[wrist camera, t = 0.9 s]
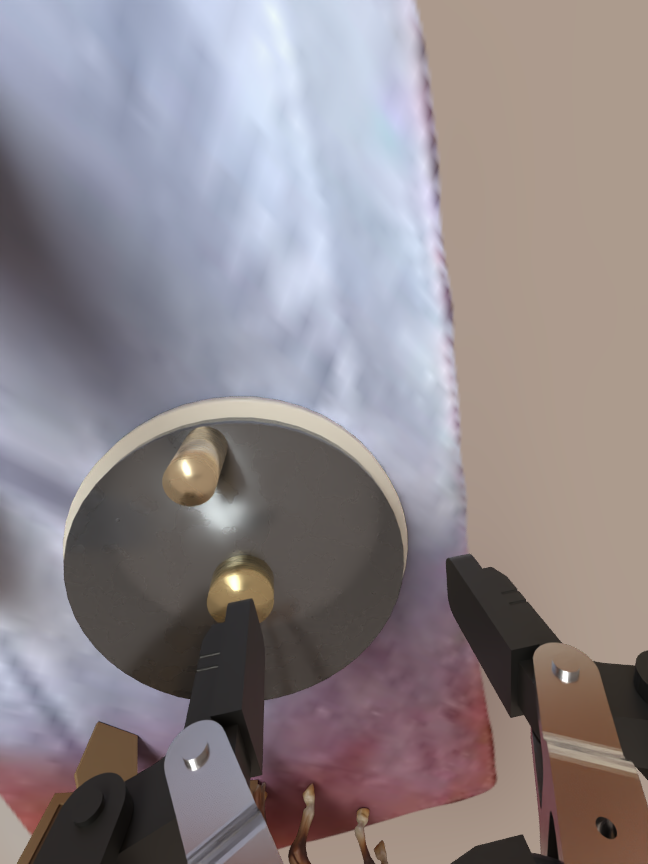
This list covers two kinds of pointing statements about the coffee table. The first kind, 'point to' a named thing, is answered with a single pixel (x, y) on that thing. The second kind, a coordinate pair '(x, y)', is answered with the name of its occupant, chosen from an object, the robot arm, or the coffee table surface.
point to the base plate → (242, 408)
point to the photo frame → (100, 756)
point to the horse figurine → (298, 848)
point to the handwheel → (234, 552)
